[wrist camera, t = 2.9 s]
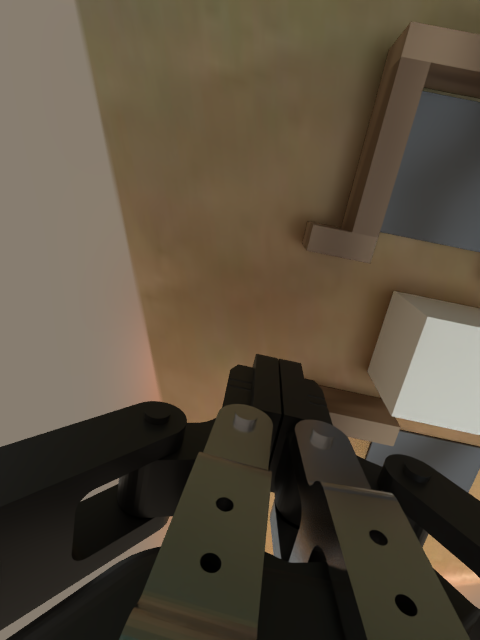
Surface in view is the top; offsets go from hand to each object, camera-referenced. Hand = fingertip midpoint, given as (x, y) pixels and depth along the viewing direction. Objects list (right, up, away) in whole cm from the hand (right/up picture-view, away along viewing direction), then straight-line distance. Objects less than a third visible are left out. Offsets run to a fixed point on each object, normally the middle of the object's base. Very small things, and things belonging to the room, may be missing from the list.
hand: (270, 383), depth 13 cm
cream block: (+9, +1, +9) cm, 13 cm away
